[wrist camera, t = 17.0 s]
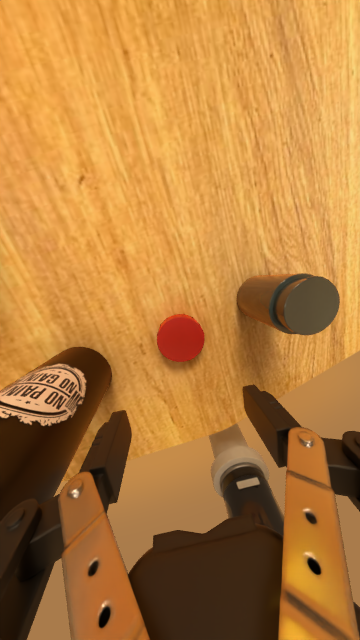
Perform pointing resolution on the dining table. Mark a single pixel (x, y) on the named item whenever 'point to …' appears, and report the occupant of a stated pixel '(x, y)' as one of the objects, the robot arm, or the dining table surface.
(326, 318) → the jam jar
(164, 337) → the jar lid
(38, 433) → the water bottle
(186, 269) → the dining table surface
